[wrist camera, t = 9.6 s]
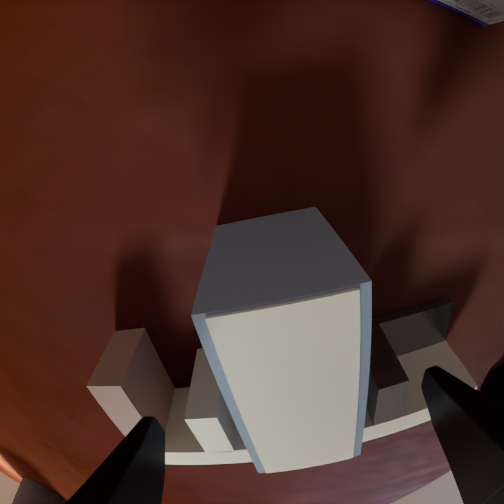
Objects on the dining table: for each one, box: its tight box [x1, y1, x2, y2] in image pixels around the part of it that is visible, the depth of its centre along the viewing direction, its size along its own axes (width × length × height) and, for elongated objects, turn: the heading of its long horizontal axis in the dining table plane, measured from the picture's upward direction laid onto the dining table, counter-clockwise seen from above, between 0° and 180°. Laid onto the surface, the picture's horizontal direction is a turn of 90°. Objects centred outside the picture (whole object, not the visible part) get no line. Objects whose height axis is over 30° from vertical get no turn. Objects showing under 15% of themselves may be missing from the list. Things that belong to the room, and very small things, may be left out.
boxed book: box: [191, 207, 372, 473], centre depth 12 cm, size 4×9×7 cm, turn 11°
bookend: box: [366, 297, 453, 426], centre depth 14 cm, size 6×3×5 cm, turn 101°
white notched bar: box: [87, 328, 478, 465], centre depth 14 cm, size 20×6×5 cm, turn 101°
